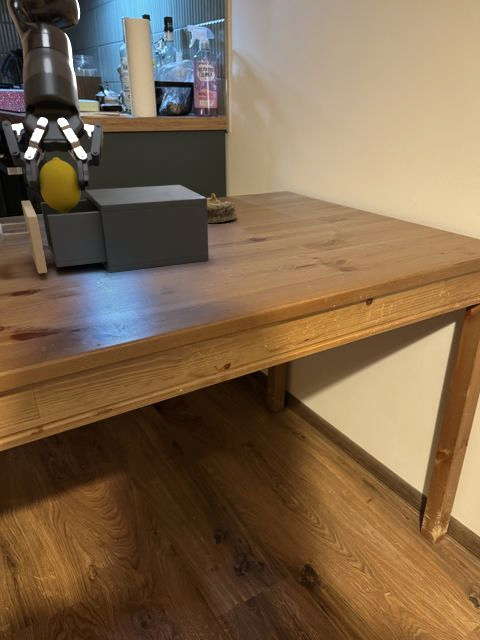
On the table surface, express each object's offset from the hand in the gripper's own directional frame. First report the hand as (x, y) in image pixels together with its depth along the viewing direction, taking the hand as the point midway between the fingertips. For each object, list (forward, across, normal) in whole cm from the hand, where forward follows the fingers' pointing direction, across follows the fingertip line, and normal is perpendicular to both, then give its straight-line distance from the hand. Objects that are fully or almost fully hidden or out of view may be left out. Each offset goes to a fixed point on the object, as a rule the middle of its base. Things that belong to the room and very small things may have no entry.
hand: (59, 187), depth 70 cm
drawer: (+7, 0, +9) cm, 11 cm away
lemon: (+2, 0, +4) cm, 5 cm away
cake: (-11, +28, +28) cm, 41 cm away
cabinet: (+6, +12, +11) cm, 17 cm away
